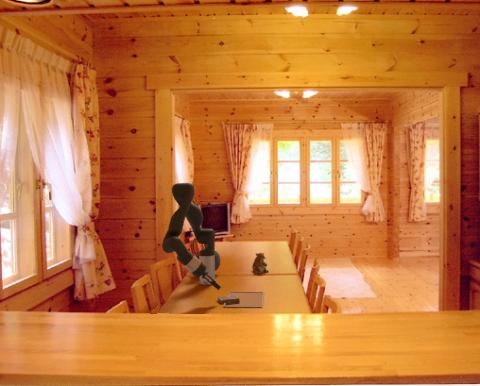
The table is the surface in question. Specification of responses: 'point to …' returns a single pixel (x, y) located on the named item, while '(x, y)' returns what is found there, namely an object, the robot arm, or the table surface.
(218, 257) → the pitcher
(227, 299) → the walnut tile
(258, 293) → the picture frame
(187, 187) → the robot arm
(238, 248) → the table surface
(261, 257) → the brown bear figurine
